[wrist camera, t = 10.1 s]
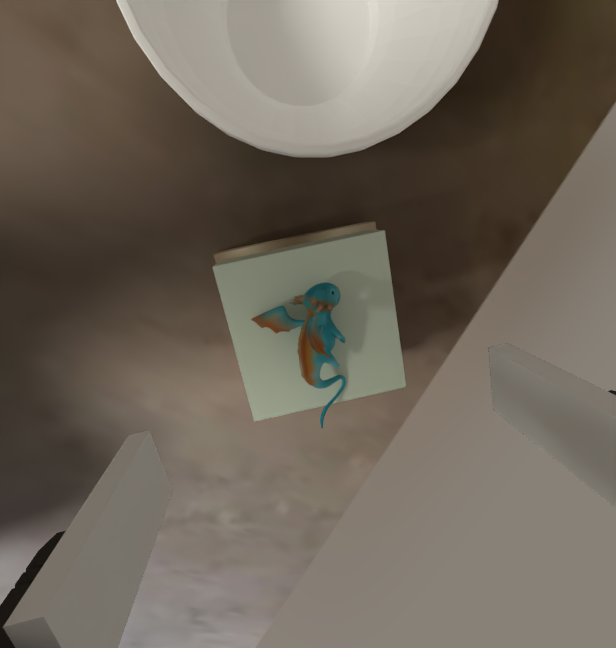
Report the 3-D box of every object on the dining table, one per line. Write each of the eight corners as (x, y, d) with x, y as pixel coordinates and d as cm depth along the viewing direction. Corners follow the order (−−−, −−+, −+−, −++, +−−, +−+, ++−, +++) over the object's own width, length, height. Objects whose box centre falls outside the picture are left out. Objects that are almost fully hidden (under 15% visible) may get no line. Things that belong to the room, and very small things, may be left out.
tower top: (256, 395, 29) (254, 421, 26) (221, 260, 26) (212, 266, 22) (389, 366, 30) (406, 386, 26) (368, 229, 27) (384, 230, 23)
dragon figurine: (417, 356, 24) (363, 277, 19) (356, 452, 22) (280, 391, 18) (348, 332, 29) (291, 264, 24) (294, 409, 27) (221, 352, 22)
